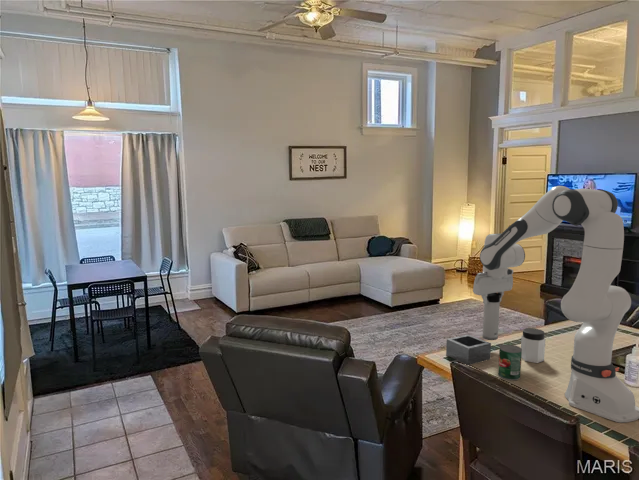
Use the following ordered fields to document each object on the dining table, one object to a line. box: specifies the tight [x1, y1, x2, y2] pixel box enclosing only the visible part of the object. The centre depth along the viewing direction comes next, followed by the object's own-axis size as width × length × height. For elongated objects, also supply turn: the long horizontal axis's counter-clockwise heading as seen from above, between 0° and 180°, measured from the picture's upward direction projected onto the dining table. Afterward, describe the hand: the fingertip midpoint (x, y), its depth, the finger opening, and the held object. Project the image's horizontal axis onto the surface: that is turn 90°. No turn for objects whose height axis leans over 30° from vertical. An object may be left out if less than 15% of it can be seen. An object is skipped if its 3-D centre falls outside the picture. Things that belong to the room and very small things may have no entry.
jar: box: [520, 327, 546, 364], centre depth 193 cm, size 9×8×12 cm
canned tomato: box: [497, 344, 522, 381], centre depth 177 cm, size 8×8×11 cm
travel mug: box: [482, 292, 501, 341], centre depth 201 cm, size 6×7×20 cm
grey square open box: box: [445, 334, 492, 366], centre depth 195 cm, size 12×12×7 cm
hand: (492, 302), depth 200 cm, fingers closed on travel mug, 6 cm apart
